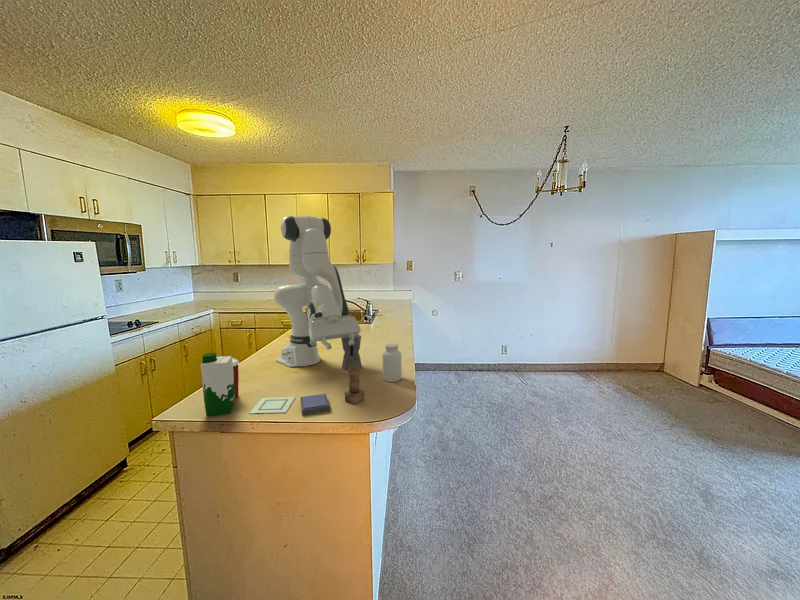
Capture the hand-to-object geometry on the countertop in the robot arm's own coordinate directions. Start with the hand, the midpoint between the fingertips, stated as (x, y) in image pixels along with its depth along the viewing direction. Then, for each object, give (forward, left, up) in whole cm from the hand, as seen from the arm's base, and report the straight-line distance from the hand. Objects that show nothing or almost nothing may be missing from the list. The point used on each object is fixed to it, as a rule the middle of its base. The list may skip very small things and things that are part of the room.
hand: (341, 346), depth 126 cm
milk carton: (-24, -34, -18) cm, 46 cm away
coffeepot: (-14, +23, -18) cm, 33 cm away
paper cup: (-32, -26, -18) cm, 45 cm away
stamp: (+10, -4, -18) cm, 21 cm away
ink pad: (+1, -15, -18) cm, 23 cm away
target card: (-12, -22, -18) cm, 31 cm away
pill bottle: (+10, +21, -18) cm, 29 cm away
